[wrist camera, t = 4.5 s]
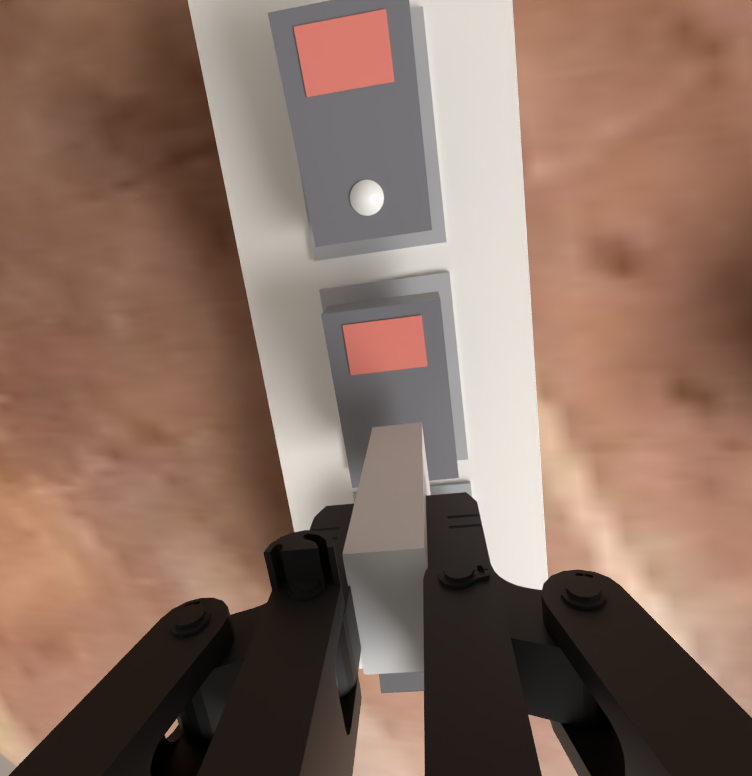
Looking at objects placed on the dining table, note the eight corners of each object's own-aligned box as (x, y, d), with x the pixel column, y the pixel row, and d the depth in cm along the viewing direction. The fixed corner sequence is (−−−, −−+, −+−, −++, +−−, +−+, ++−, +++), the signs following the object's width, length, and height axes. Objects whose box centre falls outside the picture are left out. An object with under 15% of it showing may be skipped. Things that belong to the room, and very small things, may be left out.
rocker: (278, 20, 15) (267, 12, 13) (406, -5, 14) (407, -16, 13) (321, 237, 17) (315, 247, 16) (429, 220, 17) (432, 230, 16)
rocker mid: (327, 305, 17) (320, 314, 16) (438, 291, 17) (440, 299, 15) (356, 468, 19) (352, 488, 18) (455, 458, 19) (459, 478, 17)
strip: (179, -211, 18) (87, -385, 13) (470, -284, 17) (492, -505, 12) (332, 609, 27) (313, 695, 22) (532, 596, 26) (561, 682, 21)
